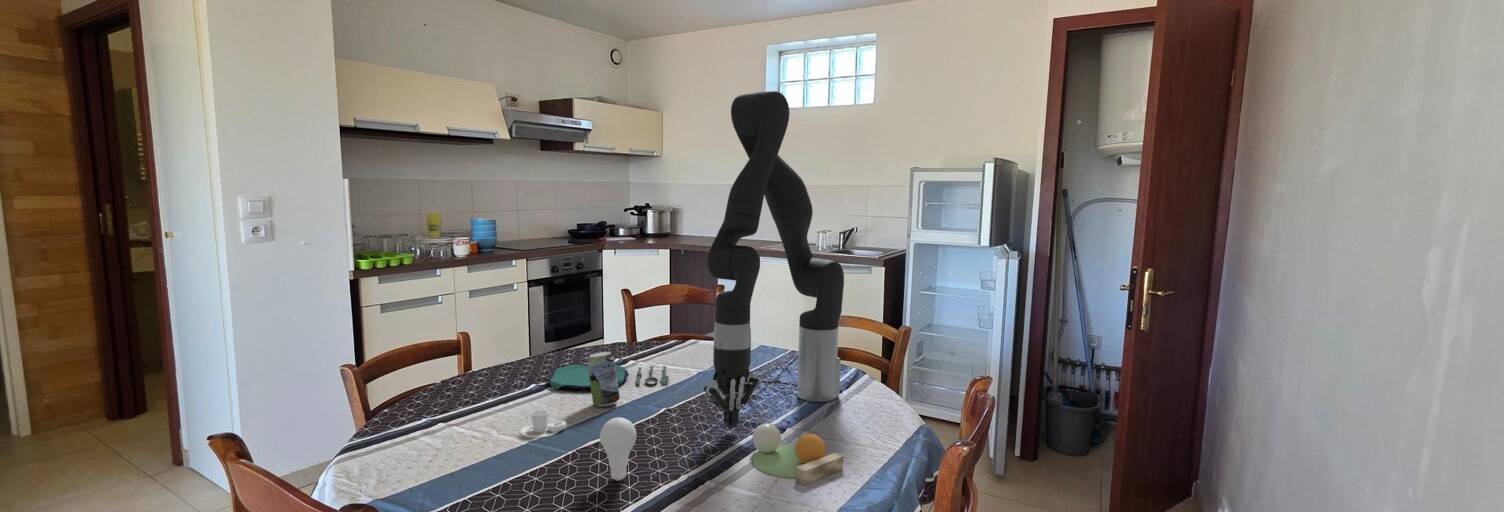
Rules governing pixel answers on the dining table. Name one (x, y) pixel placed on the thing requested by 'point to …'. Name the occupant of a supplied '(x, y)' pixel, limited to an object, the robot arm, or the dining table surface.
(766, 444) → the white ball
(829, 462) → the stopper wall
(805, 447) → the orange ball
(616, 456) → the lightbulb
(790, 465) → the green mark
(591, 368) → the beverage can
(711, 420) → the dining table surface
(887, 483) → the dining table surface
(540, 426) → the teacup and saucer
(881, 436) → the dining table surface
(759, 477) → the dining table surface
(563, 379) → the cutlery set
